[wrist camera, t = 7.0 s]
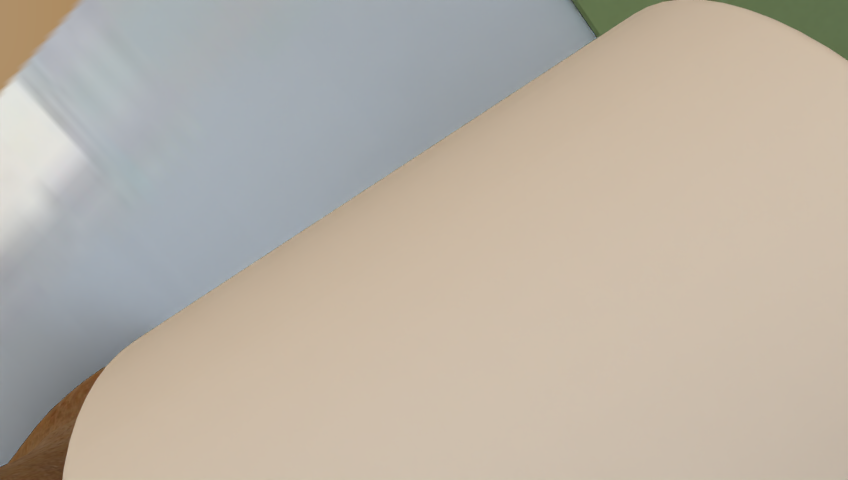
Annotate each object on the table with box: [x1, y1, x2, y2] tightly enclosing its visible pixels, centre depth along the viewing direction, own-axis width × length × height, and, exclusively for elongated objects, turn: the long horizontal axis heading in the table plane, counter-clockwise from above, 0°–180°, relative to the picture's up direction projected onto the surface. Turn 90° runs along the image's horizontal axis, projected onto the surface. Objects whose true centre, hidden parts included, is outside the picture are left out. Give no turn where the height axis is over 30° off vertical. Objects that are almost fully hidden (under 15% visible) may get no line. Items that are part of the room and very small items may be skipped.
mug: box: [62, 0, 848, 480], centre depth 10 cm, size 12×10×8 cm
